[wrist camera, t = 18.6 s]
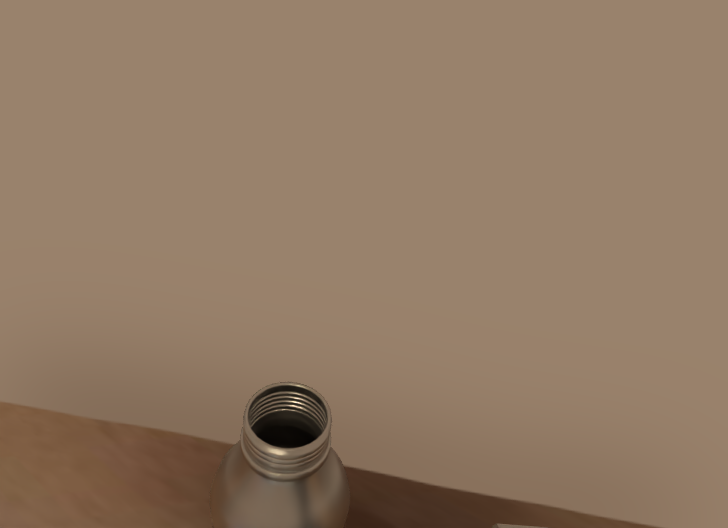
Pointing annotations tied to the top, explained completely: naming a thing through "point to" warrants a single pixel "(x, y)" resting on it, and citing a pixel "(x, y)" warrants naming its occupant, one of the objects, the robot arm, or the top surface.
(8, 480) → the top surface
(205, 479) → the top surface
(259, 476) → the plastic bottle
